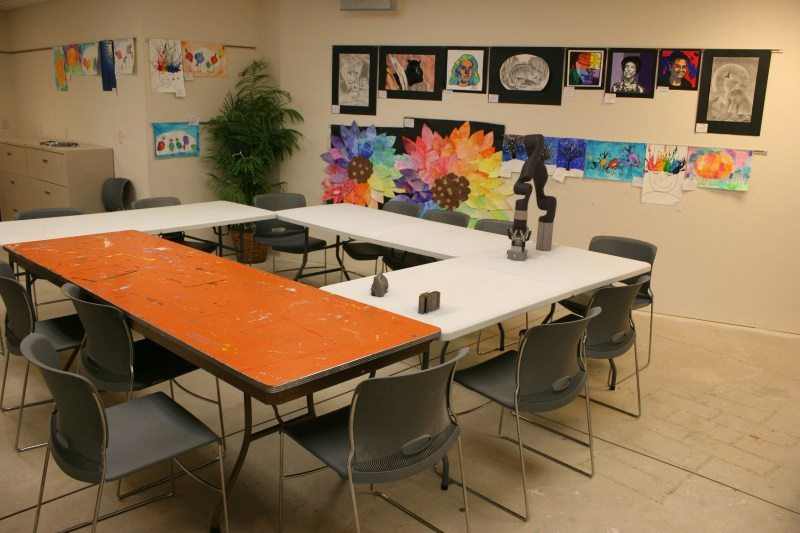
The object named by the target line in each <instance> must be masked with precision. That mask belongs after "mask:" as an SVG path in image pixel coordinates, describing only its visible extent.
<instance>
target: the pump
mask: <svg viewBox="0 0 800 533" xmlns="http://www.w3.org/2000/svg"><path fill="white" fill-rule="evenodd" d="M514 240H515V241H514V246H519V247H522V243H523V239H522V237H515V239H514Z"/></svg>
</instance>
